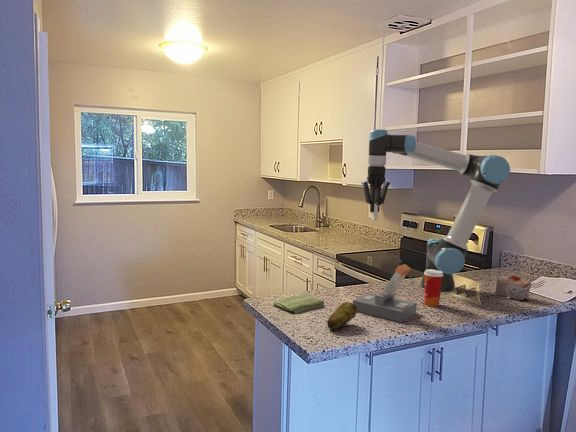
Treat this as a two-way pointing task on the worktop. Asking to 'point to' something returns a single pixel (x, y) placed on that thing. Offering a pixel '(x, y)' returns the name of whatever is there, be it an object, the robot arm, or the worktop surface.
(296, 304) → the washcloth
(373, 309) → the switch block
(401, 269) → the lever
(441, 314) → the worktop surface
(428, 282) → the paper cup
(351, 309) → the potato
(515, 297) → the food item
